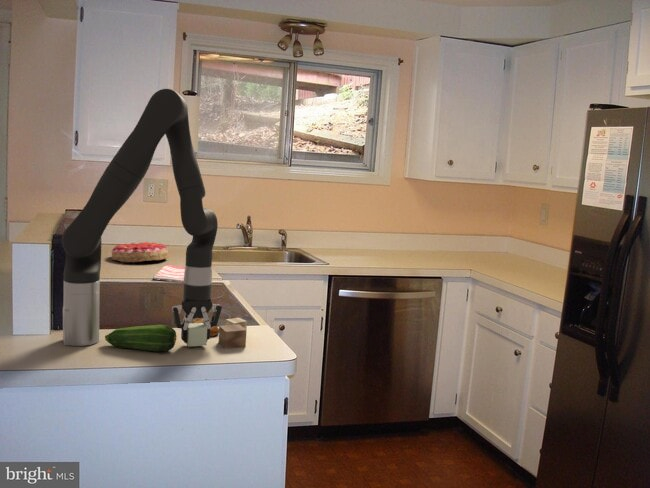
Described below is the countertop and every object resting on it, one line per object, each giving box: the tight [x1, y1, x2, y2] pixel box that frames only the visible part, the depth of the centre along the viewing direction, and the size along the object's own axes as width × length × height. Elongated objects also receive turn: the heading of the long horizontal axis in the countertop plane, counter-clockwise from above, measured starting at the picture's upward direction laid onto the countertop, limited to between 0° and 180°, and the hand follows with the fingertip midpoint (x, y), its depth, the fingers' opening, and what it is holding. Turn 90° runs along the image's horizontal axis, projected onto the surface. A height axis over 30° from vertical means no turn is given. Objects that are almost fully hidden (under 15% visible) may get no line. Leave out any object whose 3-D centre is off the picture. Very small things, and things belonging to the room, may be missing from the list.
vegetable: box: [104, 324, 178, 353], centre depth 178 cm, size 7×7×20 cm
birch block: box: [225, 317, 248, 332], centre depth 197 cm, size 4×4×4 cm
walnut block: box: [218, 324, 247, 350], centre depth 187 cm, size 6×6×5 cm
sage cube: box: [185, 323, 208, 347], centre depth 183 cm, size 5×5×5 cm
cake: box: [111, 241, 169, 264], centre depth 304 cm, size 25×25×8 cm
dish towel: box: [152, 264, 185, 283], centre depth 275 cm, size 17×23×4 cm
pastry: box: [191, 318, 219, 337], centre depth 197 cm, size 9×7×4 cm
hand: (195, 341), depth 183 cm, fingers closed on sage cube, 5 cm apart
